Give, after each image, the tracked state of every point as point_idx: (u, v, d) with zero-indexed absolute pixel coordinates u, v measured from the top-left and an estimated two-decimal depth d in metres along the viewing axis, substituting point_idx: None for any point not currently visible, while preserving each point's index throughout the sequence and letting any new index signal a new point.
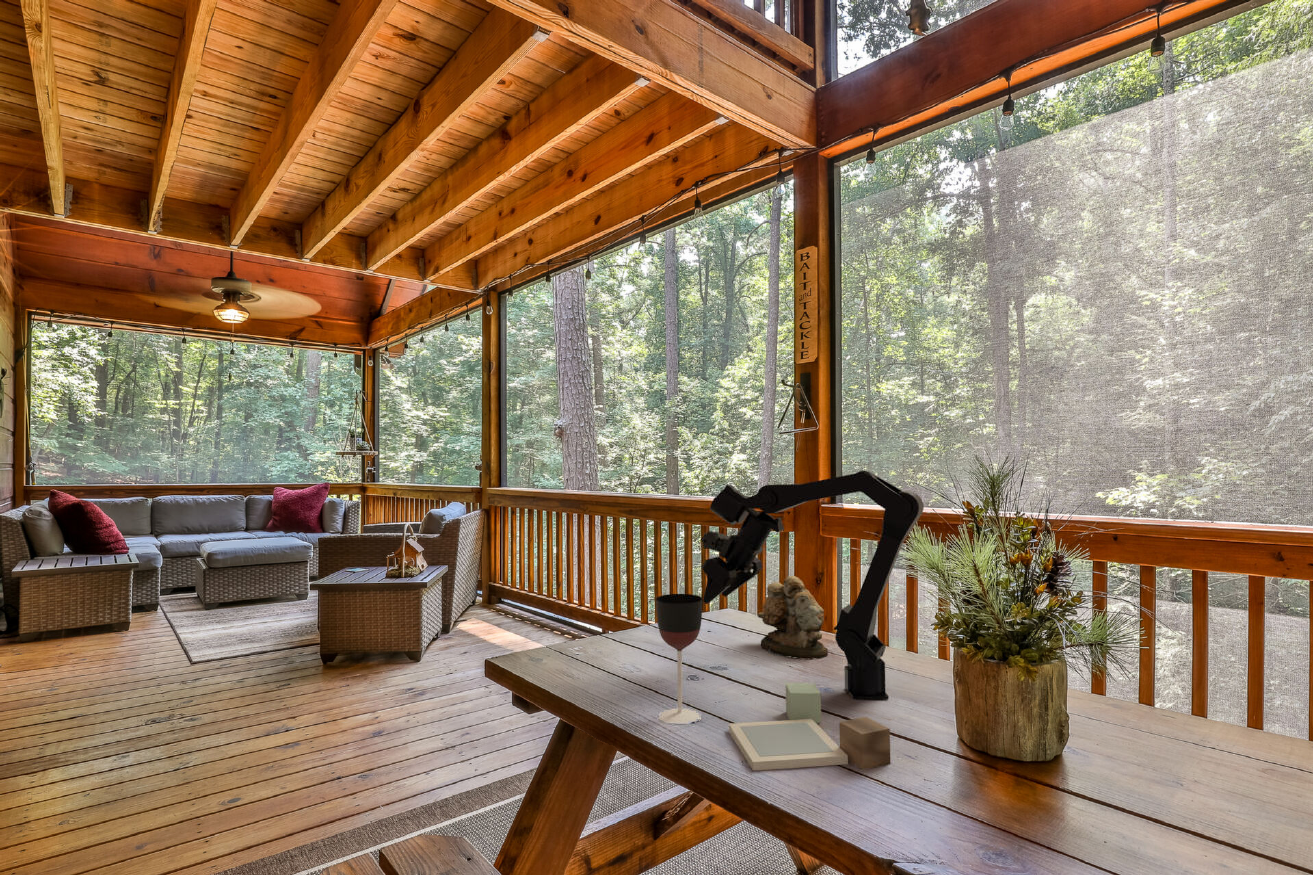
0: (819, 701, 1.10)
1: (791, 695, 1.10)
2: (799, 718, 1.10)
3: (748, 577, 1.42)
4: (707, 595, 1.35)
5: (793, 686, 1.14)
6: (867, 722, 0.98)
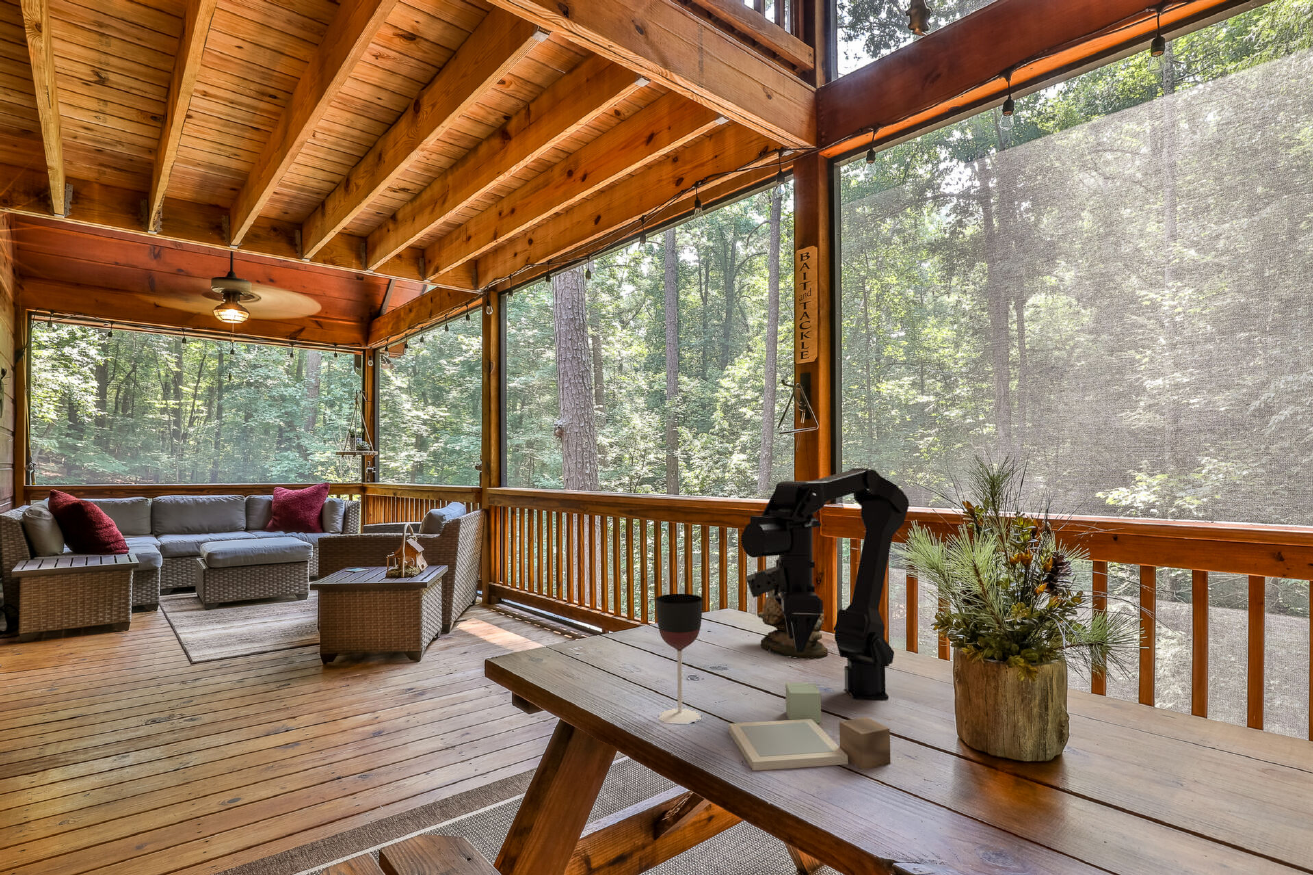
0: (819, 701, 1.10)
1: (791, 695, 1.10)
2: (799, 718, 1.10)
3: None
4: (799, 641, 1.09)
5: (793, 686, 1.14)
6: (867, 722, 0.98)
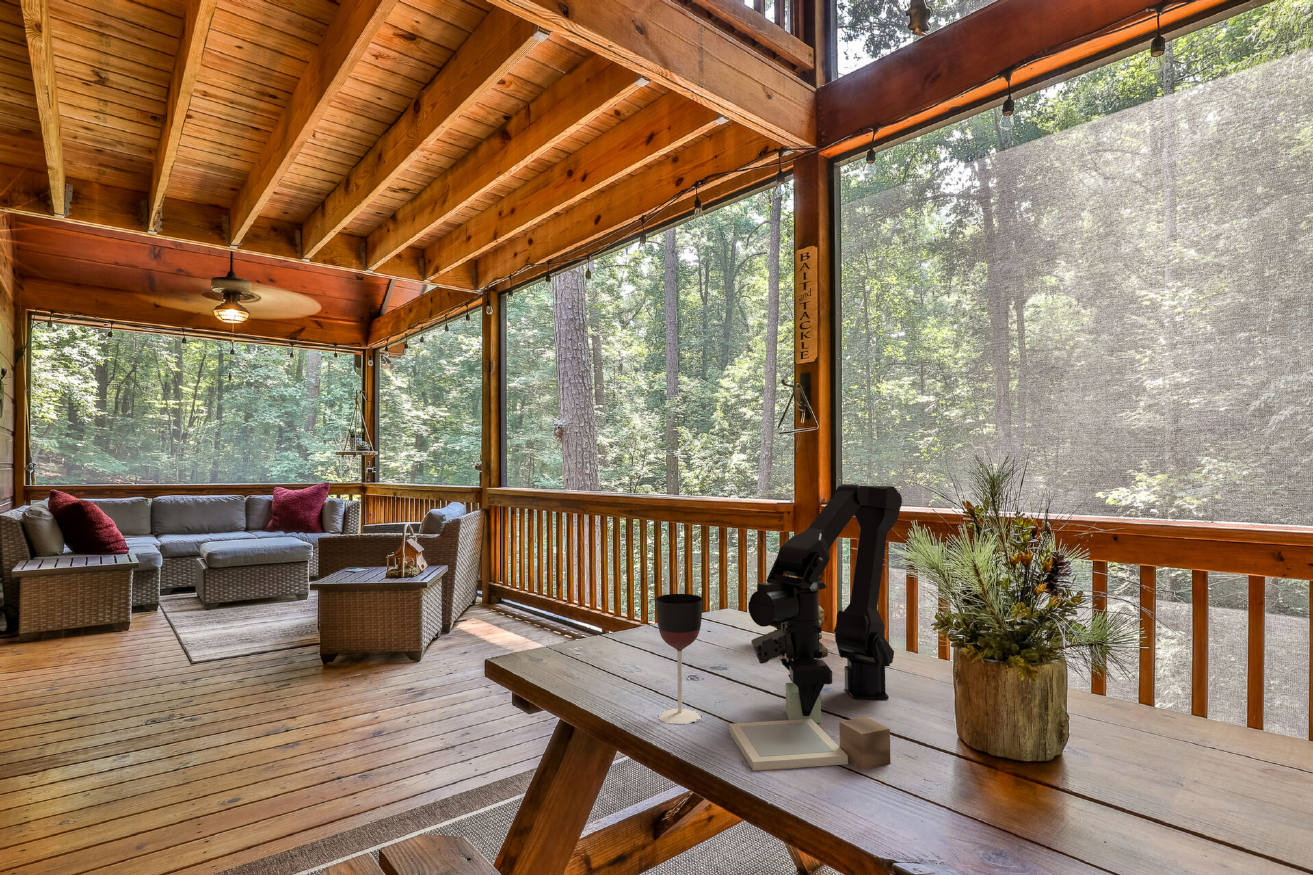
0: (819, 700, 1.10)
1: (791, 694, 1.10)
2: (799, 717, 1.10)
3: None
4: (806, 705, 1.09)
5: (793, 685, 1.14)
6: (867, 722, 0.98)
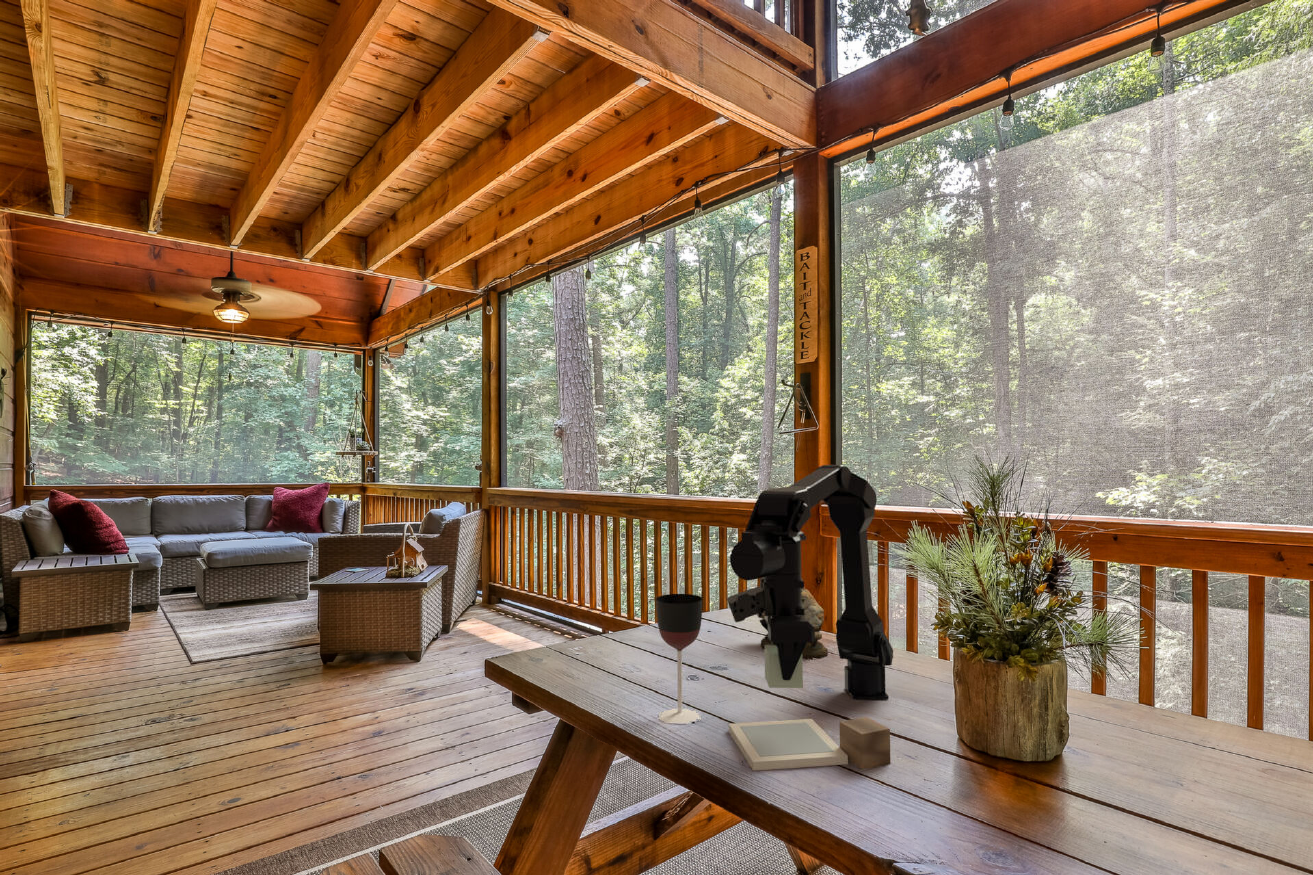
0: (801, 663, 0.99)
1: (770, 656, 0.99)
2: (778, 682, 0.99)
3: None
4: (786, 668, 0.98)
5: (772, 647, 1.03)
6: (867, 722, 0.98)
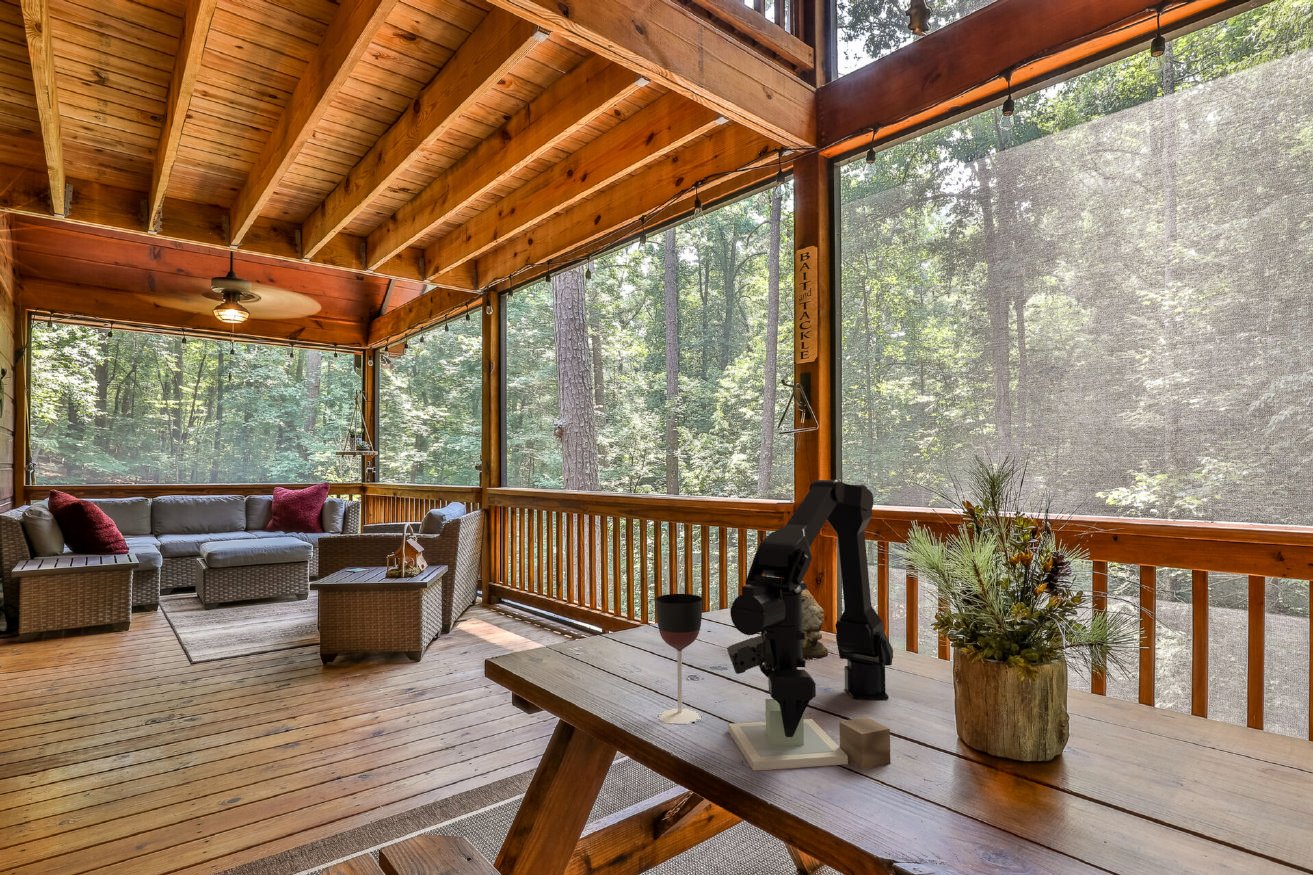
0: (802, 720, 0.99)
1: (770, 713, 0.99)
2: (779, 739, 0.99)
3: None
4: (788, 725, 0.96)
5: (773, 702, 1.02)
6: (867, 722, 0.98)
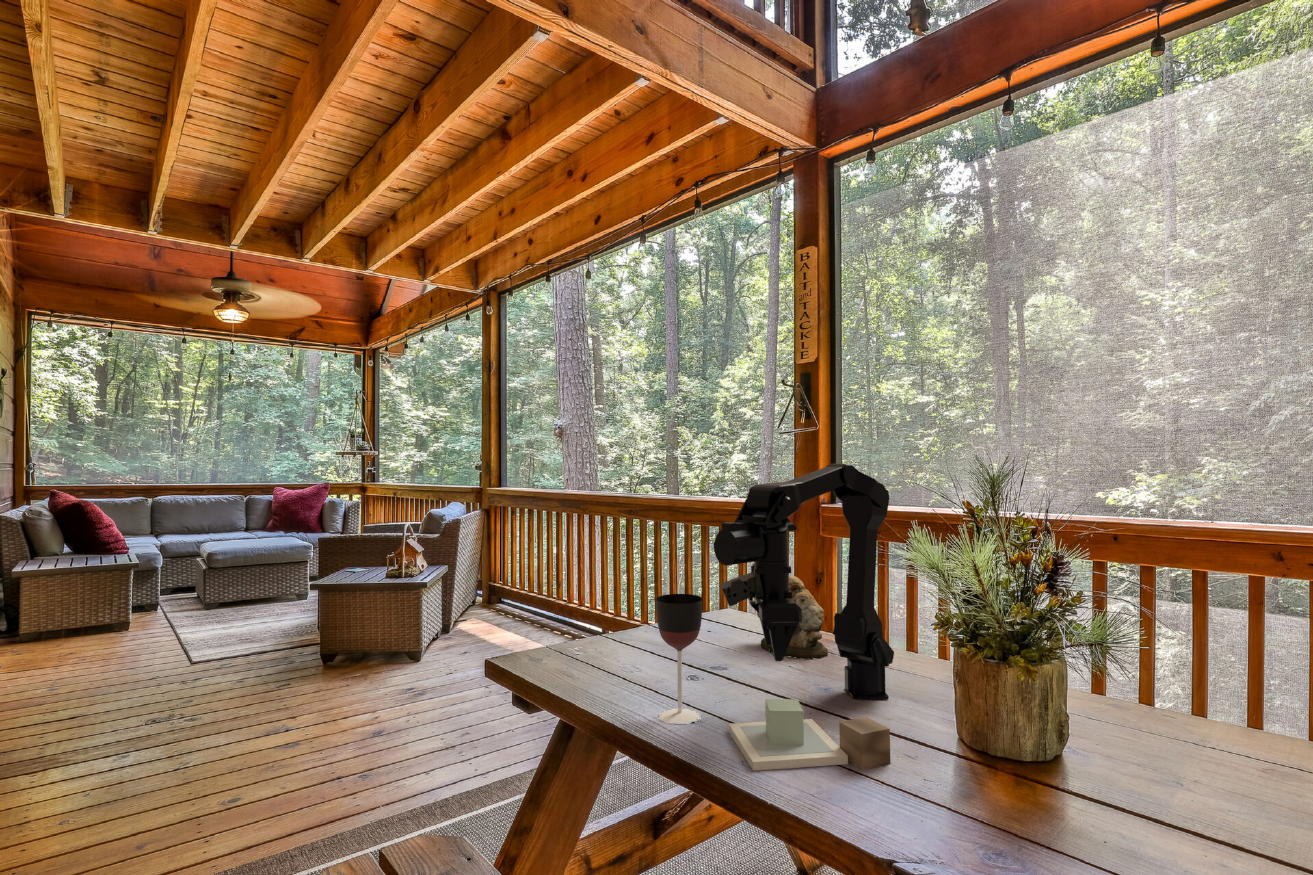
0: (802, 720, 0.99)
1: (770, 713, 0.99)
2: (779, 739, 0.99)
3: None
4: (778, 650, 1.06)
5: (773, 702, 1.02)
6: (867, 722, 0.98)
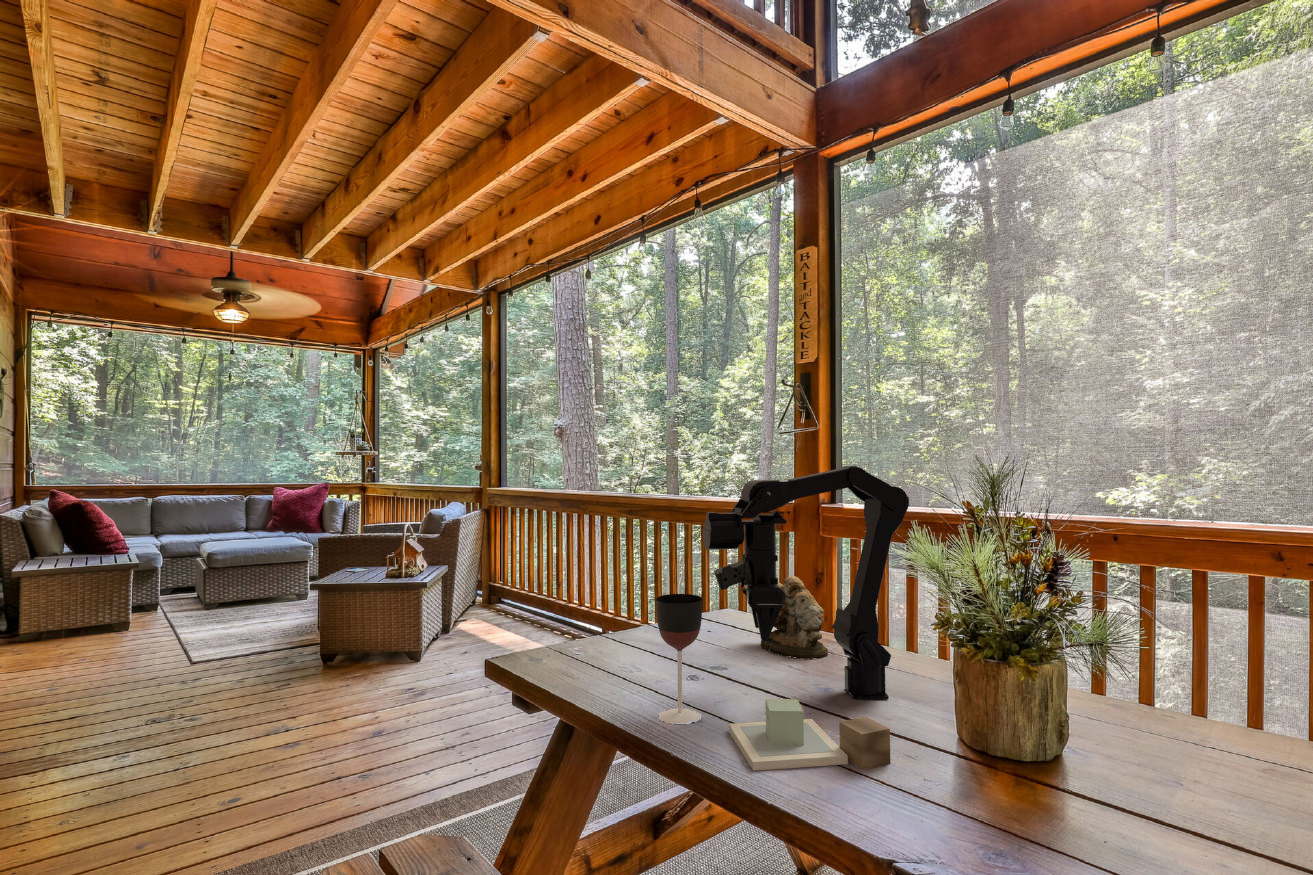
0: (802, 720, 0.99)
1: (770, 713, 0.99)
2: (779, 739, 0.99)
3: None
4: (764, 630, 1.16)
5: (773, 702, 1.02)
6: (867, 722, 0.98)
